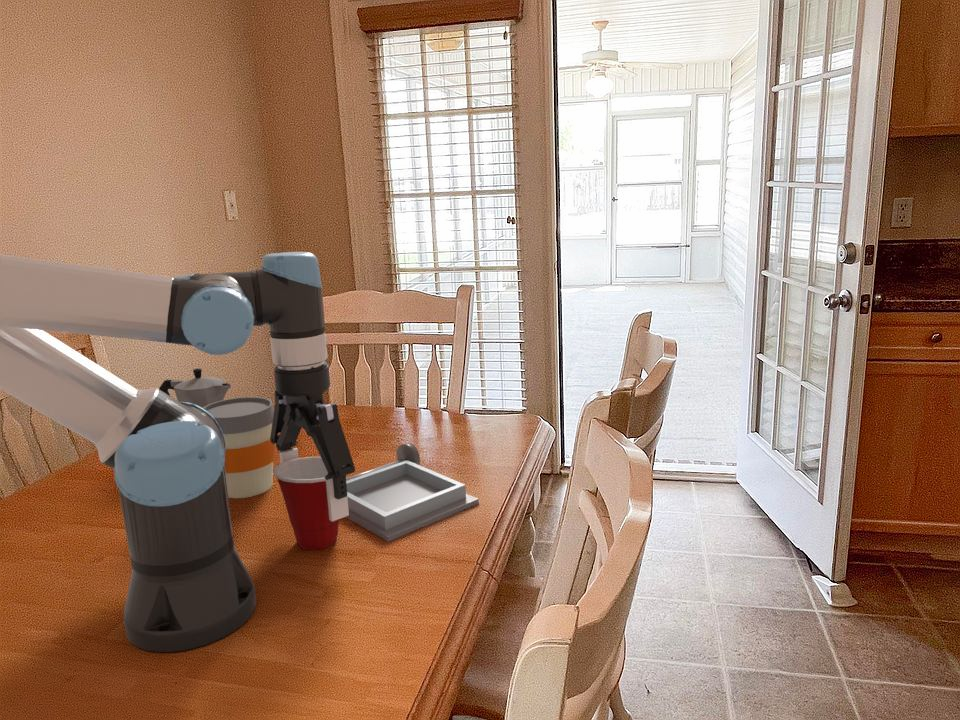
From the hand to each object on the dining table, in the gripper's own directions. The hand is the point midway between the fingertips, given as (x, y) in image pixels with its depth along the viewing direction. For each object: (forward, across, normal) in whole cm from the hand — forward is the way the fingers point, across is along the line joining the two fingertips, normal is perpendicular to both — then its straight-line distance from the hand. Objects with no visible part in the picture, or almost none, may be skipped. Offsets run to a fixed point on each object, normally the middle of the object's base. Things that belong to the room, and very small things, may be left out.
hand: (315, 503), depth 106 cm
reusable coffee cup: (+6, +27, -1) cm, 28 cm away
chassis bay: (+6, +3, -16) cm, 17 cm away
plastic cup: (+6, 0, 0) cm, 6 cm away
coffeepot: (+6, +49, -2) cm, 49 cm away
